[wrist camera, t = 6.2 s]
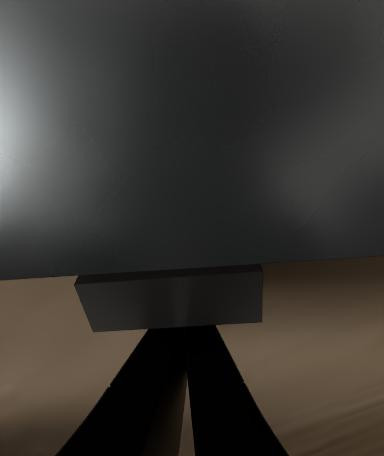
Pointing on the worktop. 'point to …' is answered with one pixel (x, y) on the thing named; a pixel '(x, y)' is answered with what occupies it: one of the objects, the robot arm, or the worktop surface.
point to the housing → (189, 134)
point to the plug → (172, 297)
